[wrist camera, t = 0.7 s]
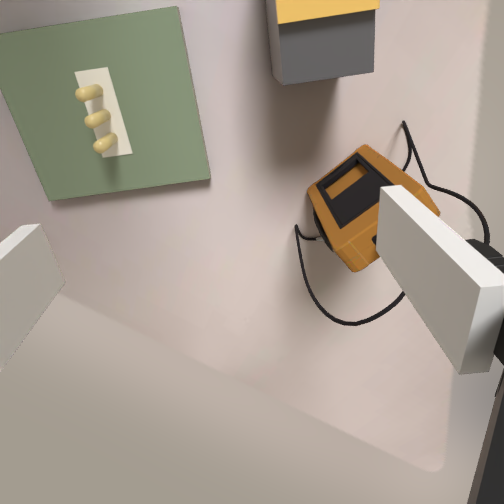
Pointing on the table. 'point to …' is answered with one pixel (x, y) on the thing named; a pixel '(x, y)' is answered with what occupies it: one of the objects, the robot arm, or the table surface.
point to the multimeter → (363, 210)
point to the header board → (105, 103)
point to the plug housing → (320, 38)
